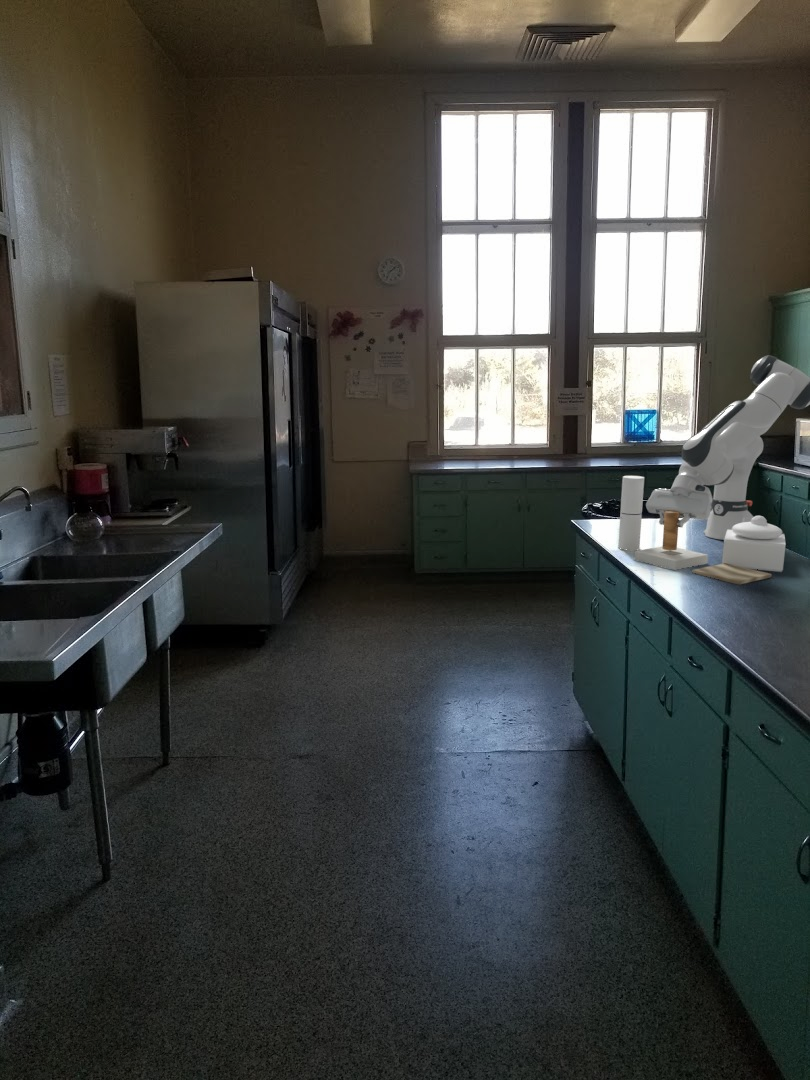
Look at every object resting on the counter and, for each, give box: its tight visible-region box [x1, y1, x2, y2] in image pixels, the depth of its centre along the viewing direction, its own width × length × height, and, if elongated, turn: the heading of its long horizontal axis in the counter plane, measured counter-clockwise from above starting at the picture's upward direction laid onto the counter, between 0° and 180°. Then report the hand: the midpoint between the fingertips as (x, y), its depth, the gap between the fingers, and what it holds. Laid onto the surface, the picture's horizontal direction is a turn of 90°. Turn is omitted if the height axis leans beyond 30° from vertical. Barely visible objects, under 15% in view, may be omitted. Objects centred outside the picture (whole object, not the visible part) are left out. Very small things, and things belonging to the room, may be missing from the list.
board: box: [692, 563, 772, 585], centre depth 240 cm, size 16×16×1 cm
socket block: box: [634, 545, 709, 571], centre depth 256 cm, size 16×16×3 cm
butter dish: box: [721, 514, 786, 573], centre depth 255 cm, size 18×18×16 cm
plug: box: [662, 511, 680, 550], centre depth 255 cm, size 4×4×12 cm
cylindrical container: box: [617, 475, 645, 551], centre depth 273 cm, size 7×7×25 cm
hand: (670, 524), depth 254 cm, fingers closed on plug, 4 cm apart
